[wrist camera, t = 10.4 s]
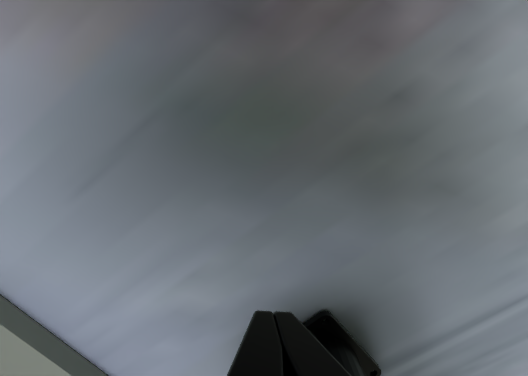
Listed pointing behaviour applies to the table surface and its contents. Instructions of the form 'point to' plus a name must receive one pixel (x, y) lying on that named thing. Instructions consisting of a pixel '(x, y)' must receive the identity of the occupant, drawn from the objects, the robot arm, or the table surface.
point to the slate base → (35, 348)
